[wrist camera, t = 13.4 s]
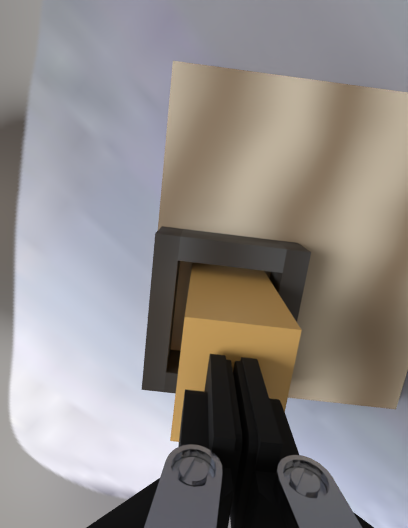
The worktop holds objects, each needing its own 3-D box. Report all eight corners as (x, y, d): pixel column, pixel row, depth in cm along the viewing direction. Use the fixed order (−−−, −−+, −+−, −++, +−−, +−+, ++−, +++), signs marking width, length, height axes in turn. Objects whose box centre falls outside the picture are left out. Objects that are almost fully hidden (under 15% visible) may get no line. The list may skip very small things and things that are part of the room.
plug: (262, 268, 19) (301, 330, 12) (247, 360, 21) (272, 469, 13) (192, 260, 19) (184, 316, 11) (182, 352, 21) (168, 458, 13)
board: (466, 109, 19) (535, 91, 15) (383, 394, 23) (419, 438, 19) (175, 70, 18) (167, 40, 14) (148, 368, 23) (136, 408, 19)
